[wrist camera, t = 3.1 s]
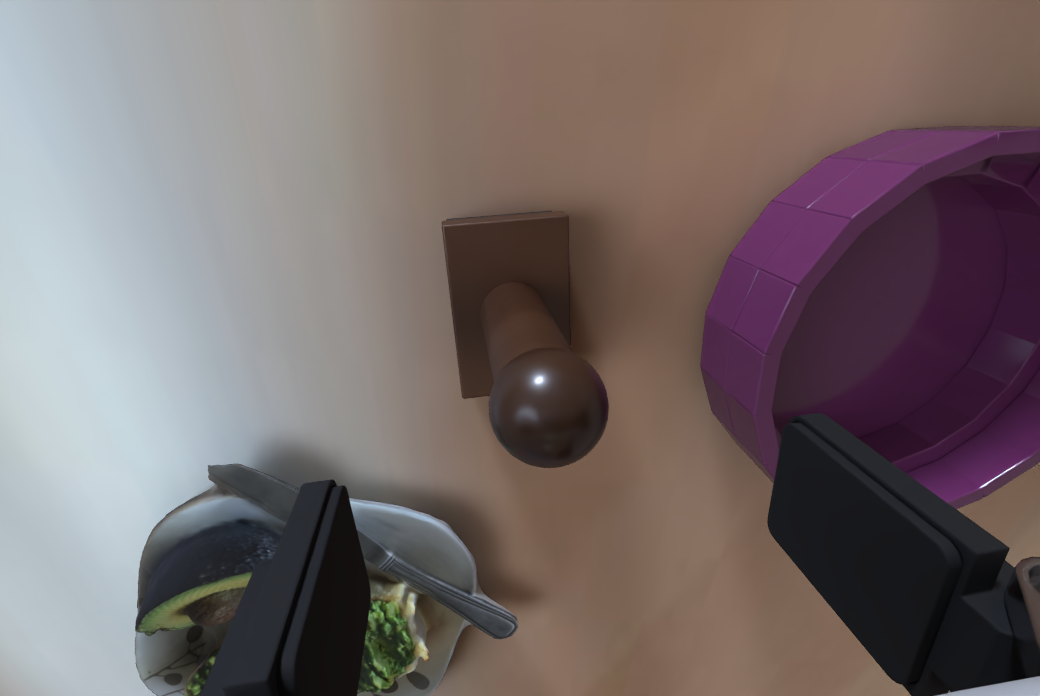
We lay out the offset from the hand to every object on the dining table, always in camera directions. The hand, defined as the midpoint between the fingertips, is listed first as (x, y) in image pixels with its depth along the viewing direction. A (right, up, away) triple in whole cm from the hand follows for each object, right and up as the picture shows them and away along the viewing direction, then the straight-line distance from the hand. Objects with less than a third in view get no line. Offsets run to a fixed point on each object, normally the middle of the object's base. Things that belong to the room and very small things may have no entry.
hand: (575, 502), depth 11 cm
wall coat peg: (-2, +6, +12) cm, 13 cm away
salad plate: (-13, -10, +17) cm, 24 cm away
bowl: (+16, +5, +15) cm, 23 cm away
